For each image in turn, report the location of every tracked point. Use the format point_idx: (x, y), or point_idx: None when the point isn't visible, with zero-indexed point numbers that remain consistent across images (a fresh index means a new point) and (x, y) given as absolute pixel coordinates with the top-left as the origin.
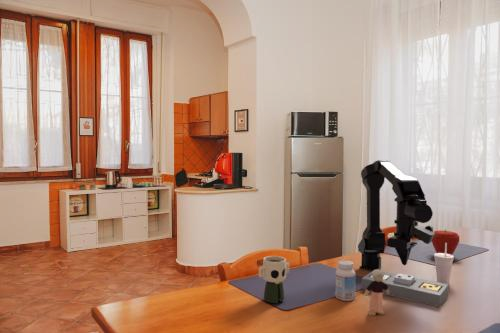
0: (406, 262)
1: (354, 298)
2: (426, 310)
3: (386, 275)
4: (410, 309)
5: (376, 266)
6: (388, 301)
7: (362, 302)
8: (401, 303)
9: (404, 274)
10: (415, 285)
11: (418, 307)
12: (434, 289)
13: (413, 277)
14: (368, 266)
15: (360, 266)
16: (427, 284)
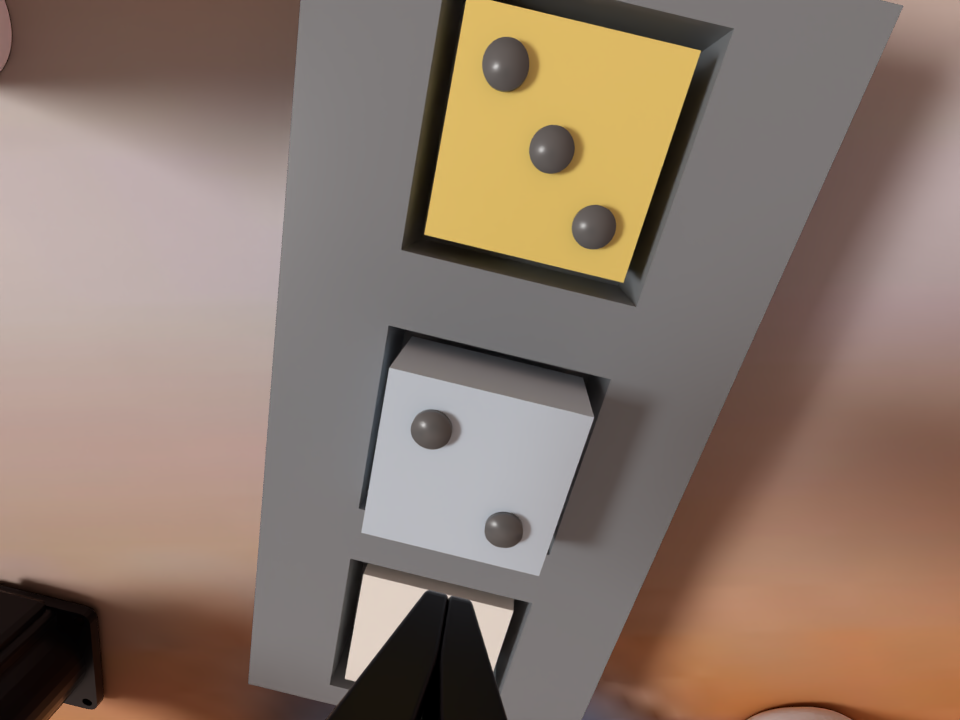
0: (462, 630)
1: (823, 710)
2: (945, 190)
3: (369, 600)
4: (945, 336)
5: (35, 631)
6: (782, 504)
7: (858, 657)
8: (803, 410)
9: (376, 479)
10: (580, 335)
11: (874, 267)
12: (656, 93)
13: (445, 380)
14: (71, 675)
15: (81, 705)
16: (474, 192)
